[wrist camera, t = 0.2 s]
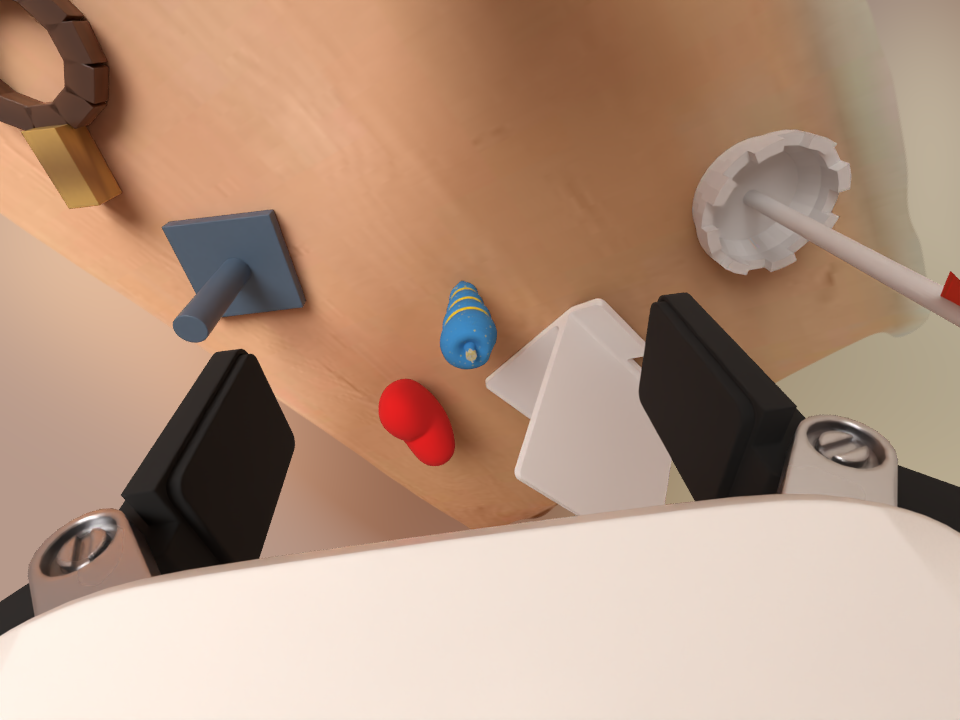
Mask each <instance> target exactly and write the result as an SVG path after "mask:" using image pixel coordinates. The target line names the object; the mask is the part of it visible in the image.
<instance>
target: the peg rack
mask: <svg viewBox="0 0 960 720" xmlns="http://www.w3.org/2000/svg"><path fill="white" fill-rule="evenodd" d="M162 229H163V231H164V233H165V235H166V237H167V239H168V240H169V242H170V244H171V246H172V248H173V250H174V252H175V254H176V256H177V258H178V260H179V262H180V264H181V266H182V267H183V269H184V271H185V273H186V275H187V277H188V279H189V281H190V283H191V285H192V287H193V289H194V291H195V293H196V295H195V296H194V298H193V299H192V300H191V301H190V302H189V303H188V304H187V306H186V307H185V308H184V309H183V310H182V311H181V313H180V314H179V315H178V316H177V317H176V318H175V320H174V321H173V329H174V331H175V332H176V334H177V335H178V336H179V337H181V338H182V339H184V340H186V341H189V342H195V343H196V342H201V341H204V340H205V339H206V338H207V337H208V336H209V334H210V333H211V331H212V330H213V329H214V327H215V326H216V324H217V323H218V321H219V320H220V319H221V317H227V316H235V315H244V314H252V313H260V312H268V311H277V310H285V309H293V308H301V307H303V306H304V304H305V302H306V299H305V296H304V293H303V291H302V288H301V285H300V282H299V280H298V277H297V274H296V271H295V269H294V266H293V263H292V260H291V257H290V255H289V252H288V249H287V246H286V244H285V241H284V238H283V235H282V232H281V230H280V227H279V224H278V221H277V219H276V216H275V213H274V210H265V211H256V212H248V213H239V214H231V215H222V216H214V217H205V218H197V219H188V220H180V221H171V222H168V223H167V224H165V225H164V226H163V227H162Z"/></svg>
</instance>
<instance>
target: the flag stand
mask: <svg viewBox="0 0 960 720" xmlns="http://www.w3.org/2000/svg"><path fill="white" fill-rule="evenodd" d="M836 145H837V143H835V142H833V141H832V140H830V139H828V138H826V137H823V136H819V135H816V134H812V133H809V132H805V131H801V130H780V131H776V132H771V133H768V134H765V135H763V136H757V137H752V138H748V139H746V140H744V141H741V142H739V143H737V144H735V145H734V146H732V147H731V148H729V149H727V150H726V151H725V152H724V153H722V154H721V155H720V156H719V157H718V158H717V159H716V160H715V161H714V162H713V163H712V164H711V165H710V167H709V168H708V169H707V171H706V172H705V174H704V175H703V177H702V178H701V180H700V182H699V184H698V187H697V189H696V192H695V195H694V199H693V206H692V214H693V221H694V223H695V226H696V231H697V237H698V239H699V242H700V245H701V246H702V248H703V249H704V251H705V252H706V253H707V254H708V255H709V256H710V257H711V258H713V259H714V260H715V261H716V262H718V263H719V264H720V265H721V266H723V267H724V268H725V269H726V270H729V271H731V272H733V273H736V274H742V275H747V273H748V271H749V270H754V269H759V268H764V267H765V268H766V269H767V270H769V271H770V272H773V271H776V270H778V269H781V268H784V267H786V266H787V265H789V264H791V263H793V262H795V261H797V260H796V257H795V255H794V252H796V251H797V250H799V249H800V248H801V247H802V246H804V245H805V244H806V243H807V242H808V241H810V242H812V243H814V244H816V245H817V246H819V247H821V248H823V249H824V250H826V251H828V252H830V253H831V254H833V255H835V256H837V257H838V258H840V259H842V260H843V261H845V262H847V263H849V264H850V265H852V266H854V267H856V268H857V269H859V270H861V271H863V272H864V273H866V274H868V275H870V276H871V277H873V278H875V279H877V280H878V281H880V282H882V283H883V284H885V285H887V286H889V287H890V288H892V289H894V290H896V291H897V292H899V293H901V294H903V295H904V296H906V297H908V298H910V299H911V300H913V301H915V302H917V303H918V304H920V305H922V306H923V307H925V308H927V309H929V310H930V311H932V312H934V313H936V314H937V315H939V316H941V317H943V318H944V319H946V320H948V321H950V322H952V323H953V324H955V325H957V326H958V327H960V280H959V279H958V278H957V277H956V276H955V275H954V274H953V273H952V272H950V273H949V276H948V278H947V280H946V283H945V285H944V286H942V285H940V284H938V283H936V282H934V281H932V280H930V279H928V278H926V277H924V276H922V275H920V274H919V273H917V272H915V271H913V270H911V269H909V268H907V267H905V266H903V265H901V264H899V263H897V262H895V261H893V260H891V259H889V258H887V257H885V256H883V255H882V254H880V253H878V252H876V251H874V250H872V249H870V248H868V247H866V246H864V245H862V244H860V243H858V242H856V241H854V240H852V239H850V238H848V237H846V236H845V235H843V234H841V233H839V232H837V231H835V230H833V229H832V227H833V226H834V224H835V223H836V221H837V220H838V218H839V217H840V216H837V215H835V214H833V213H831V212H832V209H833V207H834V205H835V203H836V201H837V198H838V195H839V192H842V191H846V190H849V189H850V184H851V170H850V163H847V162H844V161H841V160H840V158H839V156H838V154H837V152H836V150H835V148H834V147H835V146H836Z"/></svg>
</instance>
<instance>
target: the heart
mask: <svg viewBox="0 0 960 720" xmlns="http://www.w3.org/2000/svg"><path fill="white" fill-rule="evenodd" d="M379 417H380V421H381V423H382V425H383V426H384V428H385V429H386V430H387V431H388V432H389V433H390V434H392V435H393V436H395V437H397V438H399V439H401V440H404V442H405V443H406V444H407V445H408V447H409V448H410V449H411V451H412V452H413V453H414V454H415V456H416V457H417V458H418V459H419V460H420V461H421V462H423V463H424V464H426V465H429V466H439V465H442V464H445V463H446V462H447V461H449V460H450V458H451V457H452V455H453V453H454V450H455V440H454V434H453V430H452V426H451V423H450V421H449V418H448V416H447V414H446V412H445V410H444V409H443V407H442V406H441V404H440V403H439V402H438V401H437V399H436V398H435V397H434V396H433V395H432V394H431V393H430V392H429V391H428V390H427V389H426V388H425V387H424V386H422V385H421V384H419V383H418V382H416V381H414V380H411V379H400V380H397V381H395V382H393V383H391V384H390V385H389V386H387V387H386V389H385V390H384V391H383V393H382V395H381V398H380V401H379Z"/></svg>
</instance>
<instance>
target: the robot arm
mask: <svg viewBox="0 0 960 720" xmlns="http://www.w3.org/2000/svg"><path fill="white" fill-rule="evenodd" d="M639 399H640V402H641V405H642V406H643V408H644V410H645V412H646V414H647V415H648V417H649V419H650V421H651V423H652V424H653V426H654V428H655V430H656V432H657V434H658V435H659V437H660V439H661V441H662V443H663V444H664V446H665V448H666V450H667V452H668V453H669V455H670V457H671V459H672V461H673V462H674V464H675V466H676V468H677V470H678V471H679V473H680V475H681V477H682V479H683V480H684V482H685V484H686V486H687V488H688V489H689V491H690V493H691V495H692V496H693V498H694V500H695V501H694V502H685V503H676V504H667V505H658V506H650V507H642V508H634V509H626V510H619V511H611V512H603V513H595V514H587V515H580V516H572V517H564V518H556V519H548V520H541V521H533V522H525V523H518V524H510V525H503V526H495V527H487V528H480V529H472V530H465V531H458V532H451V533H442V534H435V535H428V536H420V537H413V538H405V539H398V540H390V541H383V542H376V543H369V544H361V545H354V546H347V547H340V548H334V549H326V550H318V551H311V552H305V553H297V554H289V555H282V556H275V557H268V558H261V559H259V557H260V554H261V551H262V548H263V545H264V542H265V539H266V536H267V532H268V529H269V526H270V523H271V520H272V517H273V514H274V511H275V507H276V504H277V501H278V498H279V495H280V492H281V489H282V486H283V482H284V480H285V476H286V473H287V470H288V467H289V464H290V461H291V458H292V455H293V452H294V448H295V440H294V436H293V433H292V431H291V429H290V427H289V424H288V422H287V420H286V418H285V416H284V414H283V412H282V410H281V408H280V406H279V404H278V402H277V400H276V397H275V395H274V393H273V391H272V389H271V387H270V385H269V383H268V381H267V379H266V377H265V375H264V372H263V370H262V368H261V366H260V364H259V362H258V360H257V358H256V357H255V356H254V355H253V354H248V353H247V352H246V351H245V350H243V349H237V350H229V351H221V352H216V353H215V354H214V355H213V356H212V357H211V359H210V360H209V362H208V363H207V365H206V366H205V368H204V369H203V371H202V372H201V374H200V375H199V377H198V379H197V380H196V382H195V383H194V385H193V386H192V388H191V389H190V391H189V392H188V394H187V395H186V397H185V398H184V400H183V401H182V403H181V404H180V406H179V407H178V409H177V410H176V412H175V413H174V415H173V417H172V418H171V419H170V421H169V422H168V424H167V426H166V427H165V429H164V430H163V432H162V433H161V435H160V436H159V438H158V439H157V441H156V442H155V444H154V445H153V447H152V448H151V450H150V451H149V453H148V454H147V456H146V457H145V459H144V460H143V462H142V463H141V465H140V467H139V468H138V470H137V471H136V473H135V474H134V476H133V477H132V479H131V480H130V482H129V483H128V485H127V487H126V488H125V489H124V491H123V492H122V494H121V496H122V497H123V498H124V499H125V502H124V503H123V505H122V506H121V508H120V509H119V510H116V509H113V508H110V509H99V510H96V511H92V512H89V513H86V514H84V515H82V516H80V517H78V518H76V519H73V520H72V521H70V522H69V523H67V524H66V525H64V526H63V527H61V528H59V529H58V530H57V531H56V532H55V533H54V534H52V535H51V536H50V537H49V538H48V539H47V540H46V541H45V542H44V543H43V544H42V545H41V546H40V547H39V549H38V550H37V551H36V552H35V554H34V556H33V558H32V560H31V562H30V564H29V569H28V579H29V583H28V584H27V585H25V586H24V587H22V588H21V589H19V590H18V591H16V592H14V593H13V594H12V595H10V596H8V597H7V598H5V599H4V600H2V601H1V602H0V720H960V487H958V486H955V485H952V484H949V483H947V482H944V481H941V480H938V479H935V478H932V477H930V476H927V475H924V474H921V473H919V472H916V471H913V470H910V469H907V468H904V467H902V466H899V465H898V459H897V455H896V451H895V449H894V448H893V446H892V445H891V444H890V442H889V441H888V440H887V439H886V438H885V437H883V436H882V435H881V434H880V433H878V432H877V431H876V430H874V429H872V428H870V427H869V426H866V425H865V424H863V423H860V422H858V421H855V420H852V419H849V418H846V417H841V416H836V415H816V416H811V417H808V418H805V417H804V416H803V415H802V414H801V413H800V412H799V411H798V410H797V409H796V407H797V406H796V405H795V404H794V403H793V402H792V401H791V400H790V399H789V398H788V397H787V396H786V394H784V392H782V390H781V389H780V388H779V387H778V386H777V385H776V384H775V383H774V382H773V381H772V380H771V379H770V378H769V377H768V376H767V375H766V374H765V373H764V372H763V370H762V369H761V368H760V367H759V366H758V365H757V364H756V363H755V362H754V361H753V360H752V359H751V358H750V357H749V356H748V355H747V354H746V353H745V352H744V351H743V350H742V349H741V348H740V346H739V345H738V344H737V343H736V342H735V341H734V340H733V339H732V338H731V337H730V336H729V335H728V334H727V333H726V332H725V331H724V330H723V329H722V328H721V327H720V326H719V325H718V324H717V322H716V321H715V320H714V319H713V318H712V317H711V316H710V315H709V314H708V313H707V312H706V311H705V310H704V309H703V308H702V307H701V306H700V305H699V304H698V303H697V302H696V301H695V300H694V298H693V297H692V296H691V295H690V294H688V293H677V294H669V295H662V296H660V297H659V299H658V302H654V303H653V304H652V305H651V308H650V315H649V322H648V328H647V335H646V342H645V349H644V356H643V363H642V369H641V376H640V383H639Z"/></svg>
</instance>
